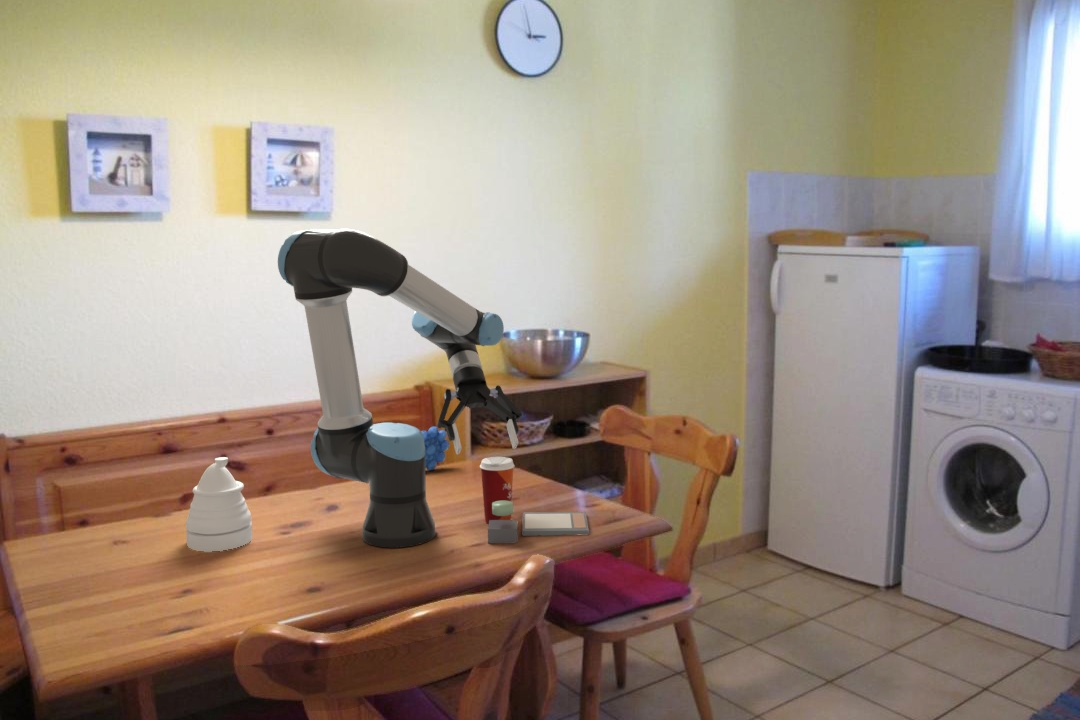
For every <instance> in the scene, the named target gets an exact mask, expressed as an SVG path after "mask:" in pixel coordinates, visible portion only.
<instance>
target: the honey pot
mask: <svg viewBox="0 0 1080 720" xmlns="http://www.w3.org/2000/svg"><path fill="white" fill-rule="evenodd" d="M214 462H215V463H212V464H210V465H209V466H208V467H207V468H206V469H205V471H204V472H203V474H202V475H201V478H200V479H199V482H198V484H197V485H196V486H194V487H193V488H192V493H193V498H192V502H190V506H189V509H188V516H187V517H186V521H185V525H186V526H185V527H186V545H187V546H188V547H189V548H191V549H194V550H198V551H204V552H203V553H213V552H212V551H220V552H224V551H223V550H227V551H229V550H228V549H232V550H234V549H233V548H236V549H238V548H237V547H239V548H241V547H240V546H242V547H244V546H246V545H248V544H249V542H250V541H251V542H252V541H253V529H252V528H253V527H252V513H251V511H250V510H249V508H248V505H247V502H246V498H245V497H244V495H243V494H242V492H241V491H243V489H244V488H245V486H244V483H243V482H241V481H238V480H235V477H234V476H233V475H232V474H231V472H230V471H229V470H228V468H227V467H226V466H227V465H228V462H229V458H228V457H225V456H221V457H216V458H214ZM251 542H250V543H251ZM247 543H248V544H247ZM245 544H246V545H245ZM243 545H244V546H243ZM187 546H186V547H187ZM188 547H187V548H188ZM189 548H188V549H189ZM191 549H190V550H191ZM198 551H197V552H198Z"/></svg>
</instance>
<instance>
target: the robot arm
mask: <svg viewBox="0 0 1080 720" xmlns="http://www.w3.org/2000/svg"><path fill="white" fill-rule="evenodd" d="M277 269H278V272H279V275H280V277H281V278H282V279H283V280H284V281H285V282H286V284H288V285H290V286H291V287H293V292H294V299H295V300H296V301H297V302H299V303H300V304H301V305H303V306H304V311H305V317H306V322H307V328H308V333H309V340H310V345H311V352H312V358H313V364H314V369H315V375H316V381H317V387H318V393H319V398H320V399H319V400H320V404H321V411H322V416H321V417H320V418H319V420H318V421H317V429H316V430H315V431H314V433H313V439H311V441H310V454H311V457H312V461H313V462H314V464H315V466H316V467H317V468H318V470H320V472H322V473H324V474H326V475H328V476H331V477H334V478H336V479H340V480H341V479H343V480H350V481H355V482H359V483H364V484H365V483H366V484H369V487H368V488H369V504H368V508H367V510H366V511H367V512H366V513H365V514H366V515H365V518H364V522H363V525H362V540H363V541H364V543H366V544H368V545H370V546H375V547H378V548H379V547H380V548H390V549H391V548H392V549H393V548H408V547H413V546H417V545H421V544H424V543H427V542H429V541H431V540H432V539H434V538H435V537H436V524H435V520H434V518H433V515H432V512H431V509H430V507H429V503H428V501H427V492H426V489H427V488H426V487H427V486H426V485H427V483H426V481H427V477H426V471H427V469H426V468H425V453H426V451H425V446H424V437H423V434H422V432H421V431H422V430H420V429H419V428H417V427H416V426H413V425H410V424H407V423H401V422H397V423H395V422H381V423H380V422H379V423H374V419H373V414H372V412H370V411H369V410H368V409H366V408H365V407H364V402H363V397H362V391H361V383H360V376H359V372H358V366H357V364H358V363H357V359H356V352H355V347H354V346H355V345H354V339H353V334H352V328H351V327H352V326H351V321H350V313H349V309H348V302H347V300H348V298H349V297H350V296H351V294H352V293H353V289H359V290H360V289H361V290H366V291H370V292H372V293H374V294H376V295H377V296H378V297H379V296H380V297H391V298H392V299H394V300H395V301H398V302H399V303H401V304H402V305H404V306H406V307H407V308H410V309H411V310H413V311H414V313H413V315H412V318H411V326H412V328H413V329H414V331H415V332H416V333H418V335H420V337H422V338H424V339H426V340H427V341H429V342H430V343H432V344H434V345H435V346H437V347H438V348H439V349H441V350H443V351H444V352H445V354H446V357H447V360H448V365H449V368H450V371H451V377H452V380H453V384H454V389H455V390H454V391H453V390H452V391H451V389H450V388H446V389H445V392H444V396H443V399H444V400H443V401H444V403H443V405H442V408H441V412H440V415H439V417H438V421H437V425H436V427H437V428H438V429H442V428H443V429H444V431H446V433H447V438H448V439H447V440H448V441H450V442H451V441H452V442H453V446H454V450H455V454H456V455H460V454H461V451H462V449H463V448H462V443H461V440H460V435H459V431H458V428H457V424H456V422H457V420H458V418H459V417H460V415H461V414H462V412H463V411H464V410H465V409H466V407H467V408H468V409H474V408H484V409H487V410H490V411H491V412H492V413H494V414H495V415H496V416H498V417H499V418H501V419H502V420H503V421H504V422H506V425H505V426H506V429H507V433H508V436H509V440H510V444H511V448H512V450H513V449H514V450H515V449H517V447H518V445H519V439H518V436H517V435H518V433H519V429H520V428H519V427H518V423H519V422H520V421H521V419H522V415H523V413H522V412H521V410H520V409H519V408H518V407H517V406H516V405H515V404H514V403H513V402H512V400H511V399H510V398H509V397H508V396H507V395H506V394H505V393H504V391H503V390H502V387H501V386H500V385H496V386H495V388H489V387H488V384H487V380H486V376H485V373H484V370H483V366H482V362H481V359H480V356H479V352H478V350H477V346H481V347H486V346H490V347H491V346H493V347H494V346H496V345H498V343H500V341H501V340H502V338H503V334H504V332H505V331H504V328H505V327H504V322H503V320H502V318H501V316H500V315H499V314H496V313H492V312H490V311H489V312H483V311H480V310H479V309H477V308H476V307H474V306H473V305H471V304H469V303H468V302H466V301H465V300H463V299H462V298H460V297H458V295H456V294H454V293H452V292H451V291H450V290H448V289H447V288H445V287H443V286H441V285H440V284H439V283H438V282H436V281H434V280H432V279H431V278H430V277H428V276H427V275H425V274H423V273H422V272H421V271H419V270H418V269H416V268H415V267H414V266H411V265H410V264H409V261H408V259H407V258H406V256H405V255H404V254H402V253H401V252H399V251H398V250H396V249H395V248H393V247H391V246H390V245H388V244H387V243H384V242H383V241H381V240H380V239H377V238H375V237H374V236H372V235H370V234H367V233H365V232H363V231H359V230H355V229H350V228H340V229H338V228H337V229H335V228H334V229H333V228H332V229H331V228H330V229H329V228H326V229H325V228H324V229H323V228H321V229H317V228H312V229H310V228H308V229H304V230H299V231H295V232H293V233H291V234H290V235H289V236H288V237H287V238H286V239H284V242H283V244H282V245H281V246H280V248H279V251H278V255H277ZM454 398H455V399H456V400H457V401H459V403H458V405H457V406H456V407H455V409H454V410H453V412H452V413H451V414H450V416H449V417H448V419H447V420H445V419H446V416H447V414H448V410H449V407H450V403H451V402H452V401H453V400H454ZM494 399H496V401H495V400H494ZM517 422H518V423H517Z"/></svg>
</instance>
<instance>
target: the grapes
mask: <svg viewBox="0 0 1080 720" xmlns="http://www.w3.org/2000/svg"><path fill="white" fill-rule="evenodd" d="M420 431H421V432H422V434H423V437H424V446H425V451H426V453H425V469H426V471H434V470H435V469H436V467H437V465H438V464H437V463H443V462H444V461H445V460H446V455H447V454H446V453H445V452H446V451H447V450H448V449H449V448H450V442H449V441H450V440H449V439H447V438H448V435H447V432H446V431H445V429H441V430H439V428H438V427H437V426H434V425H433V426H431V427H430V428H428V431H427V430H420Z"/></svg>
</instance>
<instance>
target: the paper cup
mask: <svg viewBox="0 0 1080 720" xmlns="http://www.w3.org/2000/svg"><path fill="white" fill-rule="evenodd" d="M515 466H516V465H515V464H514V461H513V459H512V458H511V457H507V456H506V457H504V456H491V457H485V458H483V459H481V463H480V464H479V468H480V470H481V471H480V474H481V485H482V487H481V488H482V498H483V510H484V511H483V512H484V521H485V522H484V523H485V524H486V525H487V526H488V525H489V520H512V514H511V515H508V516H496V515H493V514H492V503H493V502H495V501H501V500H506V501H511V502H513V481H514V478H513V477H514V468H515Z"/></svg>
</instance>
